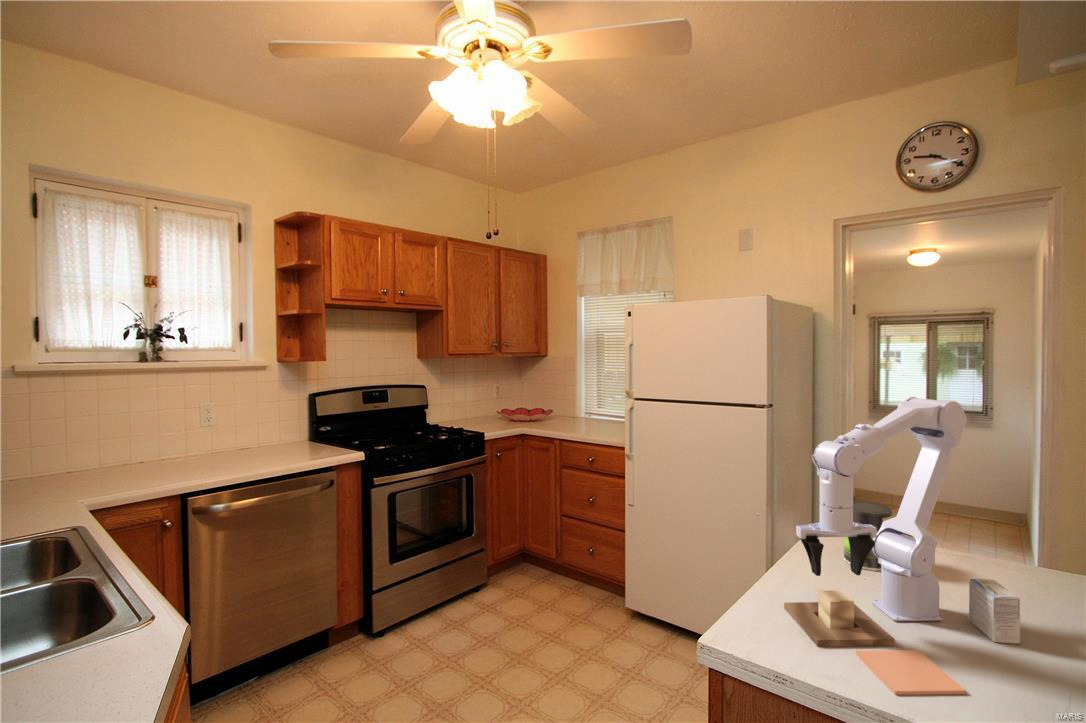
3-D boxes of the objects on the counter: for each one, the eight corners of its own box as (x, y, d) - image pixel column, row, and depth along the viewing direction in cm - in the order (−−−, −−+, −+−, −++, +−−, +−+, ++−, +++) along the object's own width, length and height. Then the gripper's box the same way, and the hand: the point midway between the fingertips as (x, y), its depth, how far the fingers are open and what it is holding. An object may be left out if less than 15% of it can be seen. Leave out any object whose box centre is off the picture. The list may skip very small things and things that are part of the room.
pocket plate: (851, 607, 112) (851, 601, 112) (894, 645, 98) (894, 639, 98) (784, 608, 113) (784, 602, 113) (817, 646, 99) (817, 640, 99)
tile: (918, 653, 96) (918, 650, 96) (965, 694, 85) (965, 690, 85) (855, 654, 96) (855, 650, 96) (895, 694, 85) (895, 691, 85)
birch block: (841, 619, 108) (841, 590, 108) (853, 632, 103) (854, 601, 103) (818, 620, 108) (818, 590, 108) (830, 632, 103) (830, 601, 103)
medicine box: (1020, 645, 98) (1021, 598, 98) (992, 643, 99) (993, 596, 98) (994, 622, 106) (994, 579, 105) (968, 620, 106) (968, 577, 106)
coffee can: (862, 572, 129) (862, 514, 128) (834, 555, 139) (834, 501, 138) (902, 570, 130) (902, 512, 129) (871, 553, 140) (872, 499, 139)
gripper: (861, 497, 108) (861, 564, 109) (789, 498, 109) (789, 565, 109) (883, 508, 101) (883, 579, 102) (805, 509, 102) (805, 580, 102)
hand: (835, 573), depth 105 cm, fingers open, 7 cm apart
